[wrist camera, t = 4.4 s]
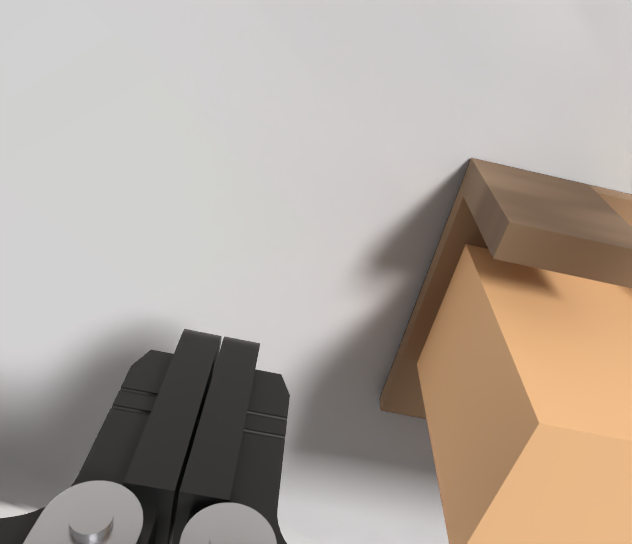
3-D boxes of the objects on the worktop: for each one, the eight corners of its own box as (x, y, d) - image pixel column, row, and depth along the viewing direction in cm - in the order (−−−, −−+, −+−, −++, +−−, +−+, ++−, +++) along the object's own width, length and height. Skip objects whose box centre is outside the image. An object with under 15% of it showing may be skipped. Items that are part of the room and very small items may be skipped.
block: (722, 299, 15) (931, 498, 9) (644, 408, 17) (780, 621, 11) (466, 243, 14) (539, 423, 9) (416, 363, 16) (453, 566, 11)
